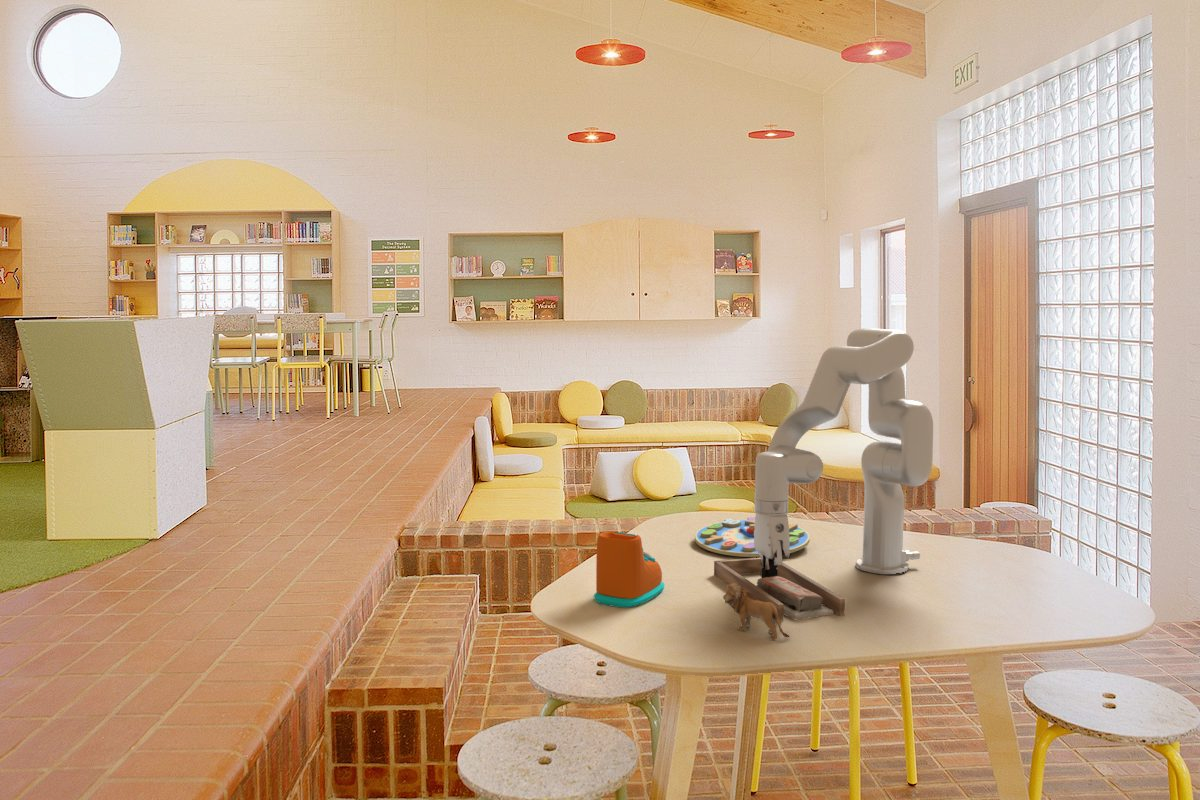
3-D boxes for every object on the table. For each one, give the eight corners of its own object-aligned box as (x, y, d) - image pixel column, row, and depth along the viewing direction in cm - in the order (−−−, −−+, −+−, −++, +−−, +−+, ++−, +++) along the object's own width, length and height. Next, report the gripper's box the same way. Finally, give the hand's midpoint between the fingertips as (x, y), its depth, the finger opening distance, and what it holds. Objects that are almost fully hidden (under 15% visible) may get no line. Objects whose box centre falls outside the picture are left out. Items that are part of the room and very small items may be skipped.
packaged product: (748, 577, 223) (785, 572, 227) (748, 598, 223) (785, 593, 227) (795, 599, 206) (834, 594, 210) (794, 622, 207) (833, 616, 211)
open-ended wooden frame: (772, 570, 244) (772, 556, 243) (844, 615, 210) (845, 598, 210) (714, 575, 239) (714, 560, 239) (778, 621, 206) (778, 604, 206)
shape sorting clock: (672, 547, 266) (672, 525, 266) (734, 527, 289) (734, 507, 289) (771, 568, 247) (772, 544, 246) (829, 545, 270) (830, 523, 269)
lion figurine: (718, 627, 202) (719, 584, 201) (731, 621, 206) (732, 578, 205) (783, 643, 193) (784, 598, 192) (795, 636, 197) (797, 592, 196)
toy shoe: (673, 588, 229) (674, 524, 227) (633, 612, 212) (634, 543, 210) (627, 580, 235) (627, 518, 233) (585, 603, 218) (585, 536, 216)
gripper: (801, 512, 219) (798, 593, 221) (772, 499, 233) (770, 575, 235) (769, 514, 217) (767, 595, 219) (742, 500, 232) (741, 577, 233)
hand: (769, 585), depth 227 cm, fingers closed
